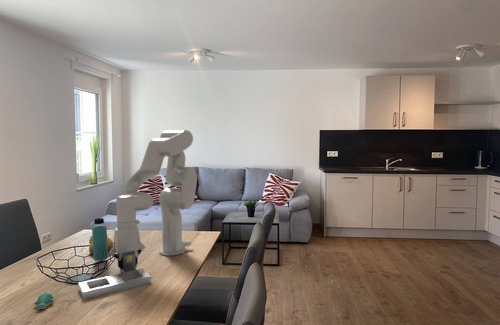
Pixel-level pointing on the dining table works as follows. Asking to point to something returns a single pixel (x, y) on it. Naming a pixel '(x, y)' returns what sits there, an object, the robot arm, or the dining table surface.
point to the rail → (113, 283)
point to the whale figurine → (44, 300)
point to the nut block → (128, 262)
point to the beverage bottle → (100, 240)
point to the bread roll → (110, 243)
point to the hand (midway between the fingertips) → (128, 266)
